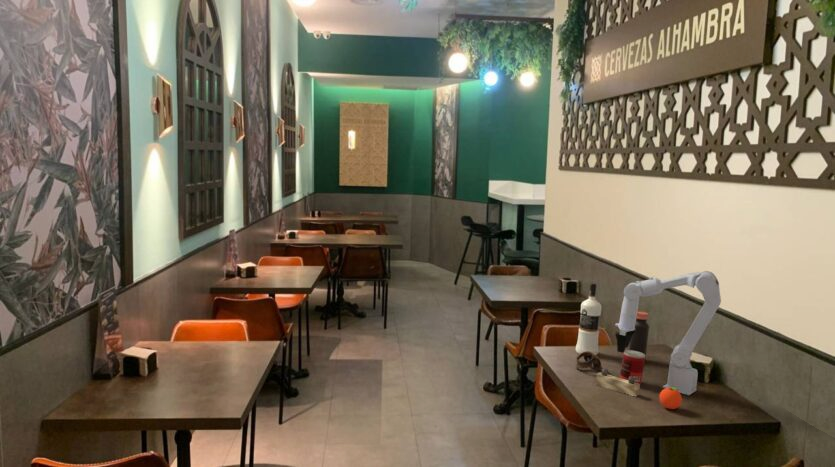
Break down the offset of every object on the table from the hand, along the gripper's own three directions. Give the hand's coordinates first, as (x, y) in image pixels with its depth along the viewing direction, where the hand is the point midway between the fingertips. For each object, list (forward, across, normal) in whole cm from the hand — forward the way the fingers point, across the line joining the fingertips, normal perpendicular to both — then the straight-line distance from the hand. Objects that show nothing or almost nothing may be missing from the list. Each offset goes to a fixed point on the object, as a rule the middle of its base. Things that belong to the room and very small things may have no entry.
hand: (622, 349), depth 235 cm
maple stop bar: (+10, +15, +2) cm, 19 cm away
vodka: (+12, -22, -17) cm, 30 cm away
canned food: (+10, +4, +5) cm, 12 cm away
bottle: (+11, -26, +3) cm, 28 cm away
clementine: (+10, +22, +21) cm, 32 cm away
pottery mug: (+12, -1, -11) cm, 16 cm away
